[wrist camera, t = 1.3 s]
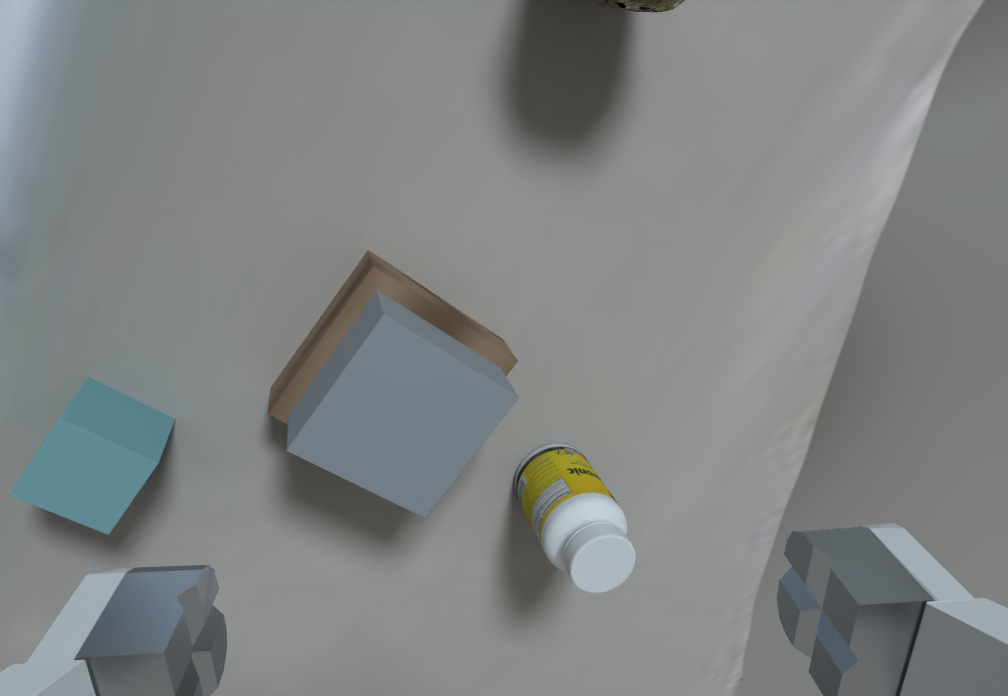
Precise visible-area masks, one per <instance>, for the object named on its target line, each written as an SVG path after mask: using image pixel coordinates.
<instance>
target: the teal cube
mask: <svg viewBox="0 0 1008 696" xmlns="http://www.w3.org/2000/svg"><path fill="white" fill-rule="evenodd" d="M174 421H175V419H174V418H172V417H170V416H168V415H166V414H164V413H161V412H159V411H157V410H155V409H153V408H151V407H149V406H147V405H145V404H143V403H141V402H139V401H137V400H135V399H133V398H130V397H128V396H126V395H124V394H122V393H120V392H118V391H116V390H114V389H112V388H110V387H108V386H106V385H104V384H102V383H100V382H97V381H95V380H93V379H91V378H89V377H88V378H87V380H86V381H85V383H84V384H83V386H82V387H81V388H80V390H79V391H78V393H77V394H76V395H75V397H74V398H73V400H72V401H71V403H70V404H69V405H68V407H67V408H66V410H65V411H64V413H63V414H62V415H61V417H60V418H59V420H58V421H57V423H56V424H55V426H54V427H53V429H52V430H51V432H50V433H49V435H48V437H47V438H46V440H45V441H44V443H43V444H42V446H41V447H40V449H39V450H38V452H37V453H36V455H35V456H34V458H33V459H32V461H31V462H30V464H29V465H28V467H27V468H26V470H25V472H24V473H23V475H22V476H21V478H20V479H19V481H18V482H17V484H16V485H15V487H14V488H13V490H12V491H11V493H10V494H9V496H12V497H14V498H17V499H19V500H22V501H24V502H27V503H29V504H32V505H34V506H37V507H39V508H42V509H45V510H47V511H50V512H52V513H55V514H57V515H60V516H62V517H65V518H67V519H70V520H72V521H75V522H77V523H80V524H82V525H85V526H87V527H90V528H92V529H95V530H98V531H100V532H103V533H105V534H108V535H109V534H110V532H111V531H112V529H113V528H114V526H115V525H116V524H117V522H118V521H119V519H120V518H121V516H122V515H123V513H124V512H125V511H126V509H127V508H128V506H129V505H130V503H131V502H132V500H133V499H134V498H135V496H136V495H137V493H138V492H139V490H140V489H141V488H142V486H143V485H144V483H145V482H146V480H147V479H148V477H149V476H150V475H151V473H152V472H153V470H154V469H155V467H156V466H157V465H158V463H159V461H160V458H161V455H162V453H163V450H164V447H165V445H166V442H167V439H168V437H169V434H170V432H171V429H172V426H173V424H174Z"/></svg>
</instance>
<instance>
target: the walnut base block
mask: <svg viewBox="0 0 1008 696" xmlns="http://www.w3.org/2000/svg"><path fill="white" fill-rule="evenodd" d="M376 290H378V291H379V292H381V293H383V294H384V295H386V296H387V297H389V298H391V299H392V300H394V301H395V302H397V303H398V304H400V305H402V306H403V307H405V308H406V309H408V310H410V311H411V312H413V313H414V314H416V315H417V316H419V317H421V318H422V319H424V320H425V321H427V322H429V323H430V324H432V325H433V326H435V327H437V328H438V329H440V330H441V331H443V332H444V333H446V334H448V335H449V336H451V337H452V338H454V339H456V340H457V341H459V342H460V343H462V344H463V345H465V346H467V347H468V348H470V349H471V350H473V351H475V352H476V353H478V354H479V355H481V356H483V357H484V358H486V359H487V360H489V361H490V362H492V363H494V364H495V365H497V366H498V367H500V368H501V370H502V371H503V373H504V374H505V376H507V375H508V373H509V372H510V371H511V369H512V368H513V367H514V366H515V364H516V363H517V362H518V361H517V359H516V358H515V356H514V355H513V353H512V352H511V350H510V349H509V347H508V346H507V345H506V343H505V342H504V340H503V339H502V338H500V337H499V336H497V335H496V334H494V333H493V332H491V331H490V330H488V329H487V328H485V327H484V326H482V325H481V324H479V323H478V322H476V321H475V320H473V319H471V318H470V317H468V316H467V315H465V314H464V313H462V312H461V311H459V310H458V309H456V308H455V307H453V306H452V305H450V304H449V303H447V302H446V301H444V300H443V299H441V298H440V297H438V296H437V295H435V294H434V293H432V292H431V291H429V290H428V289H426V288H425V287H423V286H422V285H420V284H419V283H417V282H416V281H414V280H413V279H411V278H410V277H408V276H407V275H405V274H404V273H402V272H401V271H399V270H398V269H396V268H395V267H393V266H392V265H390V264H389V263H387V262H386V261H384V260H383V259H381V258H380V257H378V256H377V255H375V254H374V253H372V252H370V251H369V250H368V251H367V252H366V254H365V255H364V257H363V258H362V259H361V261H360V262H359V264H358V265H357V267H356V268H355V269H354V271H353V272H352V274H351V275H350V276H349V278H348V279H347V281H346V282H345V283H344V285H343V286H342V288H341V289H340V291H339V292H338V293H337V295H336V296H335V298H334V299H333V300H332V302H331V303H330V305H329V306H328V308H327V309H326V310H325V312H324V313H323V315H322V316H321V317H320V319H319V320H318V322H317V323H316V324H315V326H314V327H313V329H312V330H311V332H310V333H309V334H308V336H307V337H306V339H305V340H304V341H303V343H302V344H301V346H300V347H299V348H298V350H297V351H296V353H295V354H294V356H293V357H292V358H291V360H290V361H289V363H288V364H287V365H286V367H285V368H284V370H283V371H282V373H281V374H280V375H279V377H278V378H277V380H276V381H275V382H274V384H273V385H272V387H271V393H270V401H269V409H268V415H270V416H272V417H274V418H276V419H278V420H280V421H282V422H284V423H286V424H288V416H289V413H290V412H291V410H292V409H293V407H294V406H295V405H296V403H297V402H298V400H299V399H300V397H301V396H302V395H303V393H304V392H305V390H306V389H307V388H308V386H309V385H310V383H311V382H312V381H313V379H314V378H315V376H316V375H317V373H318V372H319V371H320V369H321V368H322V366H323V365H324V364H325V362H326V361H327V359H328V358H329V356H330V355H331V354H332V352H333V351H334V349H335V348H336V347H337V345H338V344H339V342H340V341H341V340H342V338H343V337H344V335H345V334H346V332H347V331H348V330H349V328H350V327H351V325H352V324H353V323H354V321H355V320H356V318H357V317H358V316H359V314H360V313H361V311H362V310H363V308H364V307H365V306H366V304H367V303H368V301H369V300H370V299H371V297H372V296H373V294H374V293H375V292H376Z"/></svg>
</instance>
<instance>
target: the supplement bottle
mask: <svg viewBox="0 0 1008 696" xmlns="http://www.w3.org/2000/svg"><path fill="white" fill-rule="evenodd" d="M515 490H516V494H517V497H518V499H519V501H520V503H521V505H522V507H523V509H524V511H525V513H526V516H527V517H528V520H529V522H530V524H531V526H532V528H533V530H534V532H535V534H536V536H537V538H538V540H539V542H540V544H541V546H542V549H543V551H544V553H545V554H546V556H547V558H548V559H549V561H550V562H551V563H552V564H553V565H554V566H556V567H557V568H559V569H560V570H562V571H565V572H568V574H569V576H570V578H571V580H572V582H573V583H574V584H575V585H576V586H577V587H578V588H579V589H581V590H583V591H585V592H589V593H602V592H606V591H609V590H612V589H614V588H615V587H617V586H619V585H620V584H621V583H623V582H624V581H625V580H626V579H627V577H628V576H629V575H630V573H631V572H632V570H633V567H634V564H635V551H634V548H633V546H632V544H631V543H630V541H629V540H628V538H627V536H626V535H627V521H626V518H625V515H624V513H623V511H622V509H621V507H620V506H619V505H618V503H617V502H616V500H615V499H614V498H613V496H612V495H611V493H610V492H609V491H608V489H607V488H606V486H605V485H604V484H603V482H602V481H601V479H600V478H599V476H598V475H597V473H596V472H595V471H594V469H593V468H592V466H591V465H590V463H589V462H588V461H587V459H586V458H585V457H584V455H583V454H582V453H581V452H580V451H578V450H577V449H575V448H574V447H572V446H569V445H565V444H549V445H546V446H543V447H540V448H538V449H536V450H535V451H533V452H532V453H530V454H529V455H528V456H527V457H526V458H525V459H524V460H523V462H522V463H521V464H520V466H519V468H518V470H517V473H516V476H515Z"/></svg>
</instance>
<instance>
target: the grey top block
mask: <svg viewBox="0 0 1008 696" xmlns="http://www.w3.org/2000/svg"><path fill="white" fill-rule="evenodd" d="M518 398H519V397H518V395H517V394H516V392H515V391H514V389H513V387H512V386H511V384H510V383H509V381H508V379H507V378H506V376H505V374H504V373H503V371H502V370H501V368H500V367H498V366H497V365H495V364H494V363H492V362H490V361H489V360H487V359H486V358H484V357H483V356H481V355H479V354H478V353H476V352H475V351H473V350H471V349H470V348H468V347H467V346H465V345H463V344H462V343H460V342H459V341H457V340H456V339H454V338H452V337H451V336H449V335H448V334H446V333H444V332H443V331H441V330H440V329H438V328H437V327H435V326H433V325H432V324H430V323H429V322H427V321H425V320H424V319H422V318H421V317H419V316H417V315H416V314H414V313H413V312H411V311H410V310H408V309H406V308H405V307H403V306H402V305H400V304H398V303H397V302H395V301H394V300H392V299H391V298H389V297H387V296H386V295H384V294H383V293H381V292H379V291H378V290H376V292H375V293H374V294H373V296H372V297H371V299H370V300H369V301H368V303H367V304H366V306H365V307H364V308H363V310H362V311H361V313H360V314H359V316H358V317H357V318H356V320H355V321H354V323H353V324H352V325H351V327H350V328H349V330H348V331H347V332H346V334H345V335H344V337H343V338H342V340H341V341H340V342H339V344H338V345H337V347H336V348H335V349H334V351H333V352H332V354H331V355H330V356H329V358H328V359H327V361H326V362H325V364H324V365H323V366H322V368H321V369H320V371H319V372H318V373H317V375H316V376H315V378H314V379H313V381H312V382H311V383H310V385H309V386H308V388H307V389H306V390H305V392H304V393H303V395H302V396H301V397H300V399H299V400H298V402H297V403H296V405H295V406H294V407H293V409H292V410H291V412H290V413H289V416H288V433H287V449H286V451H288V452H290V453H292V454H294V455H296V456H298V457H300V458H302V459H304V460H306V461H309V462H311V463H313V464H315V465H317V466H319V467H321V468H323V469H325V470H327V471H329V472H331V473H333V474H335V475H337V476H339V477H341V478H343V479H345V480H348V481H350V482H352V483H354V484H356V485H358V486H360V487H362V488H364V489H366V490H368V491H370V492H372V493H374V494H376V495H378V496H380V497H382V498H384V499H387V500H389V501H391V502H393V503H395V504H397V505H399V506H401V507H403V508H405V509H407V510H409V511H411V512H413V513H415V514H417V515H419V516H421V517H424V518H426V517H427V516H428V514H429V513H430V512H431V511H432V509H433V508H434V507H435V505H436V504H437V503H438V501H439V500H440V499H441V498H442V496H443V495H444V494H445V492H446V491H447V490H448V489H449V487H450V486H451V485H452V483H453V482H454V481H455V479H456V478H457V477H458V476H459V474H460V473H461V472H462V470H463V469H464V468H465V466H466V465H467V464H468V463H469V461H470V460H471V459H472V457H473V456H474V455H475V453H476V452H477V451H478V450H479V448H480V447H481V446H482V444H483V443H484V442H485V440H486V439H487V438H488V437H489V435H490V434H491V433H492V431H493V430H494V429H495V427H496V426H497V425H498V424H499V422H500V421H501V420H502V418H503V417H504V416H505V415H506V413H507V412H508V411H509V409H510V408H511V407H512V405H513V404H514V403H515V402H516V400H517V399H518Z"/></svg>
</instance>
